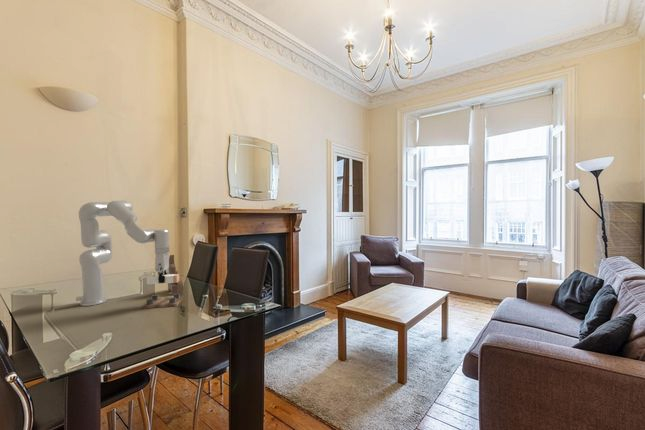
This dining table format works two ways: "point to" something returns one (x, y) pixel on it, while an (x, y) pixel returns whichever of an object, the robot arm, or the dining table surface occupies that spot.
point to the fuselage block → (168, 279)
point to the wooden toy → (178, 286)
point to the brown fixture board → (163, 301)
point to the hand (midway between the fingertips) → (163, 281)
